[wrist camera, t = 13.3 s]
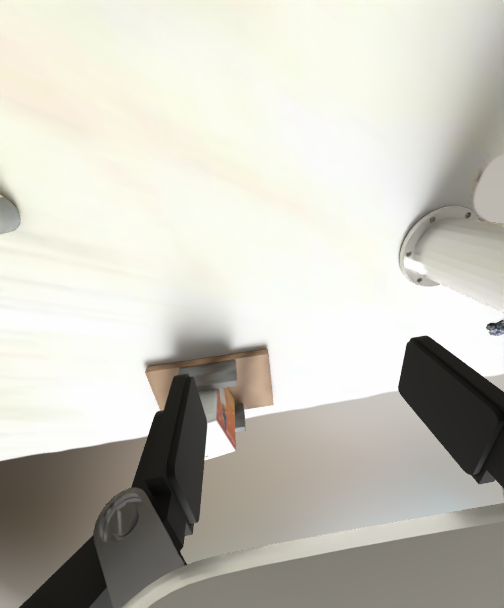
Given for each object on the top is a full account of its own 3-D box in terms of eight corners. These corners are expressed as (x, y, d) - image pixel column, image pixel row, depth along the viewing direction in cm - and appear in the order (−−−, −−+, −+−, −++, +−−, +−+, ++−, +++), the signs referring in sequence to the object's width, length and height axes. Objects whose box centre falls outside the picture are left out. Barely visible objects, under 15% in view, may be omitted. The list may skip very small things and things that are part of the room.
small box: (234, 398, 47) (236, 451, 38) (208, 407, 47) (203, 462, 38) (219, 369, 43) (217, 419, 34) (190, 379, 44) (180, 431, 34)
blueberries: (483, 309, 46) (492, 314, 45) (525, 307, 46) (536, 312, 44) (471, 338, 49) (479, 344, 48) (510, 336, 49) (520, 342, 47)
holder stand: (267, 348, 44) (273, 373, 38) (272, 399, 50) (278, 426, 44) (147, 366, 44) (135, 394, 38) (166, 415, 49) (158, 445, 43)
